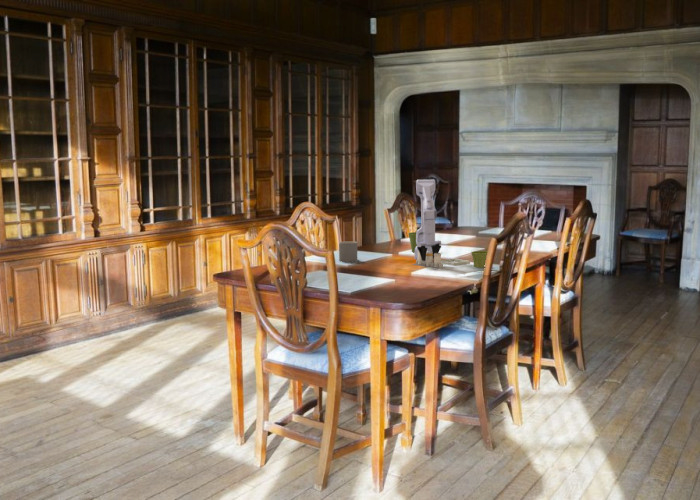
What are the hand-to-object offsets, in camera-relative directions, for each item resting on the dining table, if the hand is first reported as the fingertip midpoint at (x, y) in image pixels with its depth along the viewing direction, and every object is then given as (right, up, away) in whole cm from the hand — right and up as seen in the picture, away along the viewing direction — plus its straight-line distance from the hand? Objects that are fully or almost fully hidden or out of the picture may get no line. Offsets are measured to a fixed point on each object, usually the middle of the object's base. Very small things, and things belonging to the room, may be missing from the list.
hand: (429, 260), depth 362 cm
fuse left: (-4, -2, +5) cm, 7 cm away
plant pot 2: (+25, -5, -3) cm, 26 cm away
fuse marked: (0, -3, 0) cm, 3 cm away
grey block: (-40, -1, +33) cm, 52 cm away
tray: (+13, -3, +9) cm, 17 cm away
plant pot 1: (0, +4, +62) cm, 62 cm away
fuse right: (+4, -4, -4) cm, 7 cm away
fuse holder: (0, -4, +1) cm, 5 cm away
